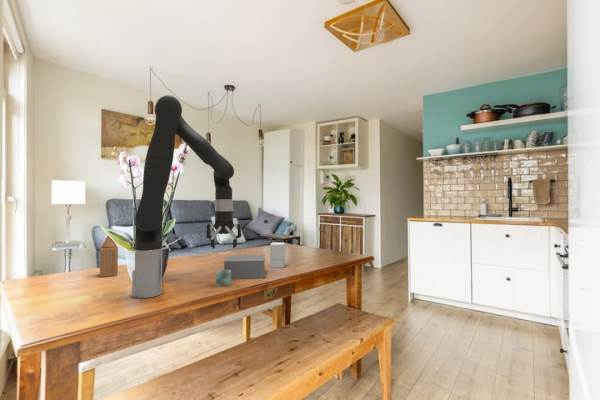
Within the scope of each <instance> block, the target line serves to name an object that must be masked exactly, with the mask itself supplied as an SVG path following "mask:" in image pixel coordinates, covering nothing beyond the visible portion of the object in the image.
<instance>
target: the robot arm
mask: <svg viewBox="0 0 600 400" xmlns="http://www.w3.org/2000/svg"><path fill="white" fill-rule="evenodd" d="M182 112H183V107H182V104H181V102H180V101H179V99H178V98H176V97H175V96H173V95H170V94H168V95H164V96H161V97H160V98H158V100H157V101H156V103H155V105H154V115H155V121H154V122H155V124H154V128H153V129H154V130H153V133H152V137H151V139H150V142H149V145H148V148H147V152H146V155H145V161H144V164H143V165H144V166H143V167H144V168H143V175H142V176H143V177H142V193H141V198H140V201H139V205H138V207H137V210H136V213H135V216H134V270H132V275H131V277H132V278H131V280H132V282H131V283H132V284H131V285H132V286H131V288H132V289H131V297H132V298H138V299H146V298H147V299H149V298H153V297H157V296H158V297H159V296H160V295H161V294H162V293H163V220H164V217H163V216H164V214H163V213H164V212H163V211H164V199H165V194H166V190H167V187H168V183H169V180H170V177H171V173H172V168H173V160H174V153H175V143H176V135H177V136H178V137H179V138H180V139H181V140H182V141H183V142H184V143H185V144H186V145H187V146H188V147H189V148H190V149H191V150H192V151H193V153H195V155H196V156H197V157H199V159H200V160H201V161H202V162H203V163H204V164H206V165H208V166H210V168H212V169H213V175H212V176H213V182H214V187H215V194H214V195H215V201H214V223H208V224H207V225H206V235H205V236H206V237H205V238H206V239H209V240H210V246H211V248H212V249H214V250H215V249H216V238H217V236H218V234H219V235H223V234H224V235H228V234H229V235H230V236H231V237H232V238H233V239H232V249H236V247H237V246H238V239H240V238H241V237H242V226H241V223H234V204H233V188H232V187H231V184H230V179H232V178H233V177H234V175H235V168H234V167H233V165H232V164H231V162H230V161H229V160H227V159H226V158H225V157H224V156H222V155H221V154H220V153H218V151H217V150H216V149H215V148H214V147H213V145H212V144H211V143H210V142H209V141H208V140H207V139H206V138H205V137H203V136H202V135H201V134H200V133H199V132H197V131H196V130H195V129H194V128H192V127H191V126H190V124H188V122H187V121H186V120H185V119H184V117H183V115H182ZM234 227H235V229H236V230H237V235H236V233H235V232H234V230H233V229H234ZM213 229H215V232H214V233H213V234H212V235H211V231H212V230H213Z"/></svg>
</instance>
